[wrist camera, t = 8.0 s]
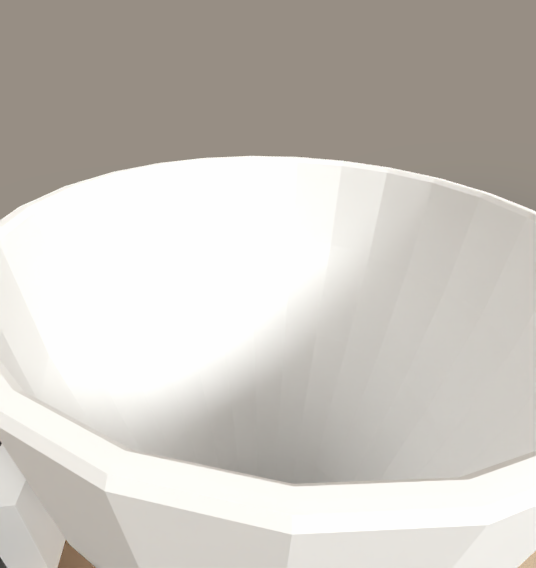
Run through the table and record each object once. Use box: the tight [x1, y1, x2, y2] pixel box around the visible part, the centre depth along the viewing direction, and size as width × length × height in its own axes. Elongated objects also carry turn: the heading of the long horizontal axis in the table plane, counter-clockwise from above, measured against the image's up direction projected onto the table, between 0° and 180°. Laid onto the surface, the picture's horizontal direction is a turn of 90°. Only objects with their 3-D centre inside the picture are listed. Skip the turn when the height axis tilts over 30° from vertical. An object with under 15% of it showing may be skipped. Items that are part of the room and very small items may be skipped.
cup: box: [0, 156, 536, 568], centre depth 11 cm, size 10×10×14 cm
